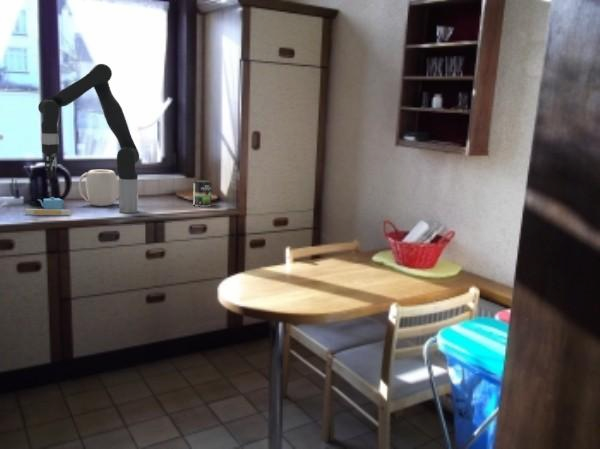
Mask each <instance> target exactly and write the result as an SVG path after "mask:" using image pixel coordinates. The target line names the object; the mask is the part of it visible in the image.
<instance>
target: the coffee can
mask: <svg viewBox="0 0 600 449" xmlns="http://www.w3.org/2000/svg"><path fill="white" fill-rule="evenodd" d="M192 182H193V190H192V191H193V193H192V195H193V196H192V198H193V199H192V202H193V203H192V206H193V205H195V206H194V207H198V206H200V207H199V208H201V207H202V208H203V207H204V208H207V207H208V206H209V207H211V206H212V182H213V181H212V180H207V179H194V180H193V181H192ZM209 207H208V208H209Z"/></svg>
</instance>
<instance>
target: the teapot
mask: <svg viewBox="0 0 600 449" xmlns="http://www.w3.org/2000/svg"><path fill="white" fill-rule="evenodd" d="M38 201H39V203H40V204H41V207H42V208H43V209H59V210H63V209H64V206H63V205H64V203H65V201H64V199H61V198H59V197H57V198H56V197H54V196H51V197H49V198H43V201H42V199H38Z"/></svg>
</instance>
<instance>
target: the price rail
mask: <svg viewBox="0 0 600 449" xmlns="http://www.w3.org/2000/svg"><path fill="white" fill-rule="evenodd" d="M70 211H71V209H62V210H59V209H44V208H40V209H39V208H25V209H24V215H25V216H36V215H37V216H71V215H70Z"/></svg>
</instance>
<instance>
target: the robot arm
mask: <svg viewBox="0 0 600 449" xmlns="http://www.w3.org/2000/svg"><path fill="white" fill-rule="evenodd" d="M112 75H113V72H112V69H111V68H110V66H108V64H104V63H98V64H96V65H94V66H93V67H92V68H91V69H90V70H89V72H88V73H87V74H85V75H84V76H83V77H81V78H80V79H78V80H76V81H74V82H73V83H71V84H69V85H67V86H66V87H64V88H63V89H61V90H60V91H58V92H57V93H55V94H53V95H51V96H48V97H47V98H44V99H43V100H41V101H40V102H39V104H38V107H37V108H38V111H39V112H40V113H41V114H42V115H43V116H44V117H43V120H42V122H41V125H40V126H41V136H40V137H41V153H43V154H46V155H45V156H44V169H45V170H46V177H47V179H52V178H53V177H56V176H57V167H58V157H57V156H58V155H57V154H59V153H60V143H59V142H60V139H59V133H58V132H59V131H58V130H59V128H58V123H59V122H58V121H59V118H60V108H62V107H66V106H69V105H71V103H73V102H76V100H79V99H78V98H81V97H82V96H83V95H85V93H87V92H88V91H90V90H91V89H94V91H95V93H96V94H97V98H98V100H99V104H100V107H101V109H102V111H103V112H102V113H103V116H104V118H105V121H106V125H107V126H108V128H109V129H110V131H111V132H112V134H113V135H114V137H115V138H116V140H117V141H118V143H119V144H118V145H119V148H120V149H119V150H118V151H117V153H116V166H117V167H116V170H117V175H118V177H119V198H118V211H119V213H121V214H122V213H123V214H125V213H126V214H134V213H138V212H139V192H138V191H139V190H138V189H139V188H138V184H139V183H138V180H139V179H138V173H137V171H136V164H137V163H138V162H139V161H140V152H139V150H138V148H137V146H136V144H135V142H134V139H133V136H132V134H131V132H130V128H129V126H128V123H127V120H126V117H125V114H124V111H123V108H122V106H121V105H120V103H119V101H118V100H117V99H116V97H115V96H114V95H113V93H112V91H111V87H110V83H109V82H110V80H111V78H112Z"/></svg>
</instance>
